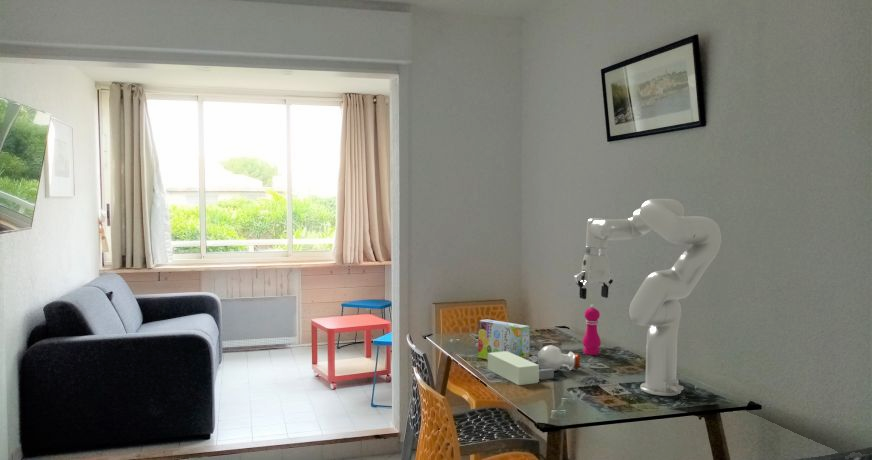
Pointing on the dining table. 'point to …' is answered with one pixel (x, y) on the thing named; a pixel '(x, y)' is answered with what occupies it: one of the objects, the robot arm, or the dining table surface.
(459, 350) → the dining table surface
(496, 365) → the green and grey block
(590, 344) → the pepper mill
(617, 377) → the dining table surface
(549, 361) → the potion bottle
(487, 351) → the snack box
